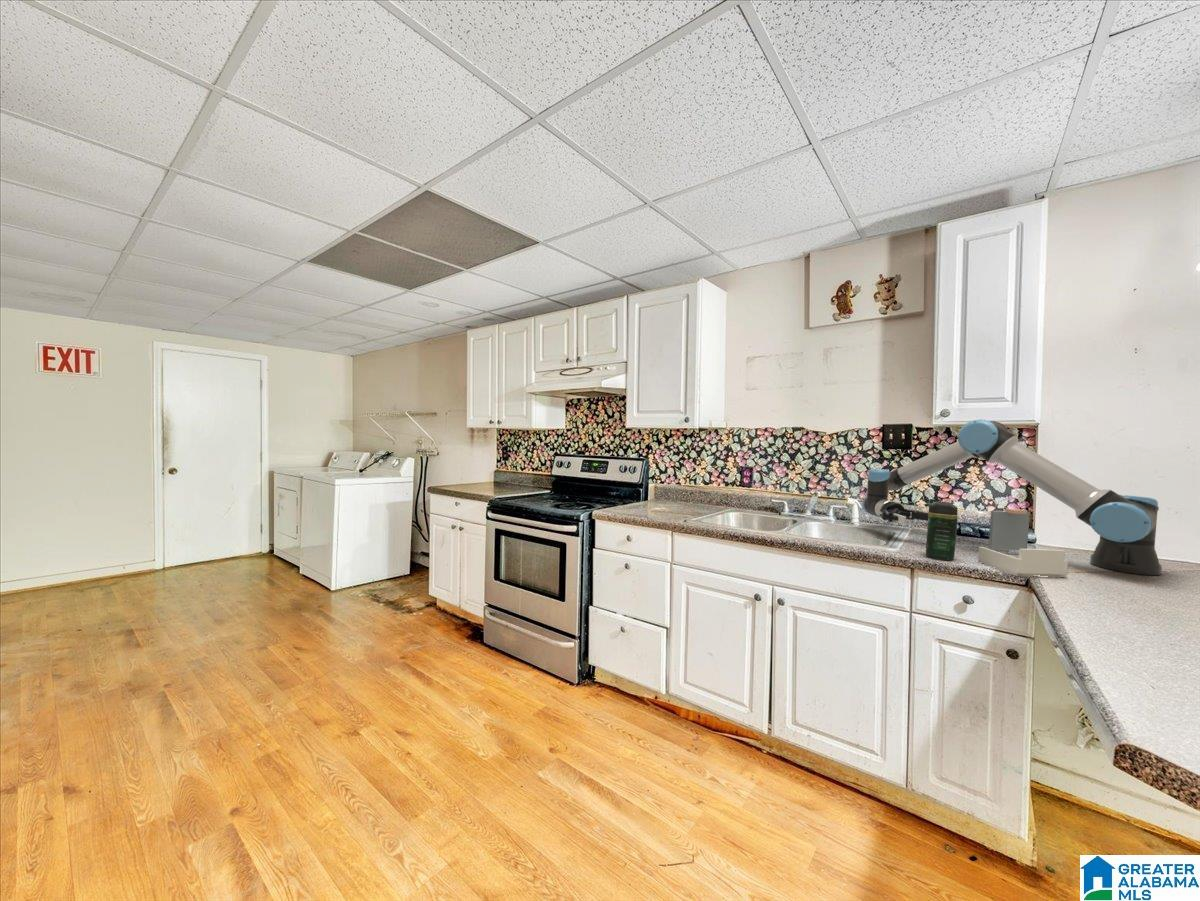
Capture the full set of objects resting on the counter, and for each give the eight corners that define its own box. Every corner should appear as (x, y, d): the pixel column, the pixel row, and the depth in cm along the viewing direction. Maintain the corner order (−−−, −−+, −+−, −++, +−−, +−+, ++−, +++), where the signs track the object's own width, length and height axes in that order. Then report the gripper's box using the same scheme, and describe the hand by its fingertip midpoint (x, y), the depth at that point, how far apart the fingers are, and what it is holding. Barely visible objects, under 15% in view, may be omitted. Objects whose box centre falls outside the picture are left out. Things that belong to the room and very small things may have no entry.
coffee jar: (955, 562, 151) (958, 505, 150) (925, 558, 156) (928, 502, 155) (954, 556, 159) (957, 501, 158) (925, 552, 164) (929, 499, 163)
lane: (1022, 563, 152) (1024, 538, 152) (1066, 578, 137) (1068, 550, 137) (978, 561, 153) (979, 537, 152) (1017, 576, 138) (1019, 549, 137)
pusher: (1024, 549, 150) (1027, 508, 149) (1035, 552, 146) (1038, 511, 145) (988, 548, 150) (991, 507, 150) (998, 551, 146) (1001, 510, 146)
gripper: (921, 521, 186) (960, 533, 165) (857, 519, 187) (887, 530, 166) (923, 502, 186) (962, 511, 165) (858, 500, 187) (888, 509, 166)
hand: (924, 521), depth 165 cm, fingers open, 13 cm apart
